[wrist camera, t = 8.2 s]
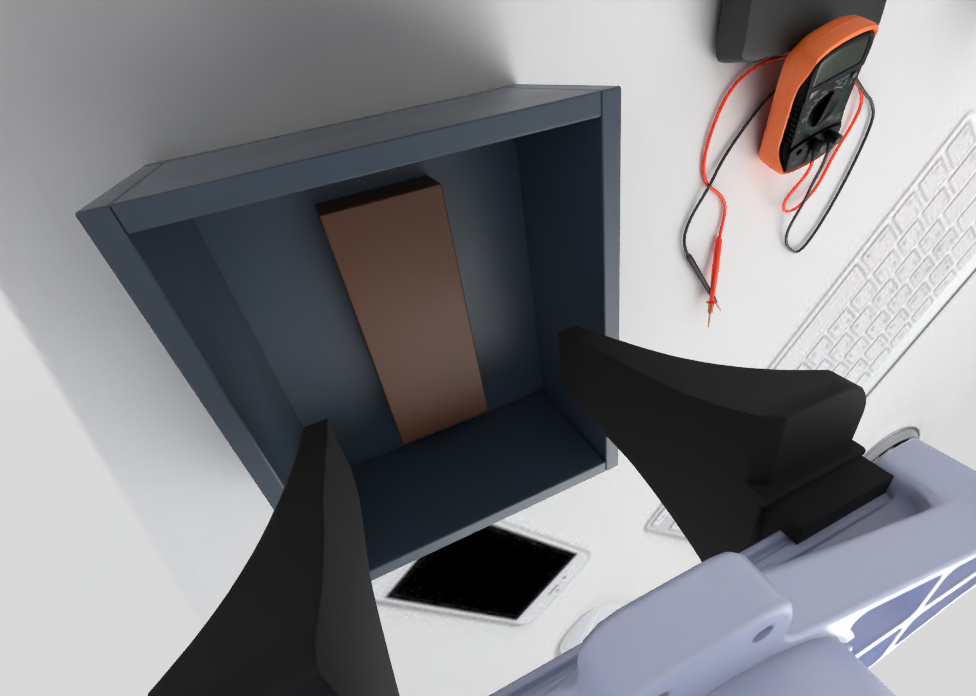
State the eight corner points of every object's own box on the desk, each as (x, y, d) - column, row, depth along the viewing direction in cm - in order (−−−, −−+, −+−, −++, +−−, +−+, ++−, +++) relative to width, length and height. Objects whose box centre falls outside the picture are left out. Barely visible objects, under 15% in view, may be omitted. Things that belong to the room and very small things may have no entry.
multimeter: (811, 289, 29) (868, 311, 26) (658, 334, 25) (705, 364, 23) (946, -98, 19) (1057, -127, 17) (731, -113, 16) (827, -154, 13)
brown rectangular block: (395, 422, 21) (403, 445, 19) (314, 204, 15) (318, 215, 14) (475, 391, 22) (488, 411, 20) (428, 174, 16) (441, 182, 15)
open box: (319, 482, 21) (333, 599, 16) (144, 165, 13) (72, 213, 8) (549, 389, 24) (618, 465, 19) (518, 83, 16) (621, 85, 11)
